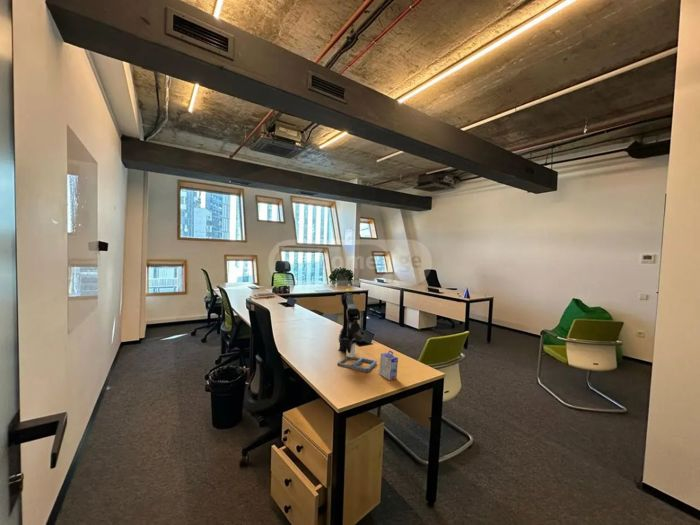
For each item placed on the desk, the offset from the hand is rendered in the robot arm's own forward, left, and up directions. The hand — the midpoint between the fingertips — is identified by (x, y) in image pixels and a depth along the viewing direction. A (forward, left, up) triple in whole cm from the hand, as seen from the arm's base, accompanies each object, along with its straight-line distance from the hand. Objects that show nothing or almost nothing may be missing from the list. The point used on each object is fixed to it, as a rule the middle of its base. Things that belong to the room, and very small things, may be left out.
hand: (350, 351), depth 184 cm
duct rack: (+5, 0, -7) cm, 9 cm away
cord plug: (0, 0, -3) cm, 3 cm away
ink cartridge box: (+27, -6, -7) cm, 29 cm away
